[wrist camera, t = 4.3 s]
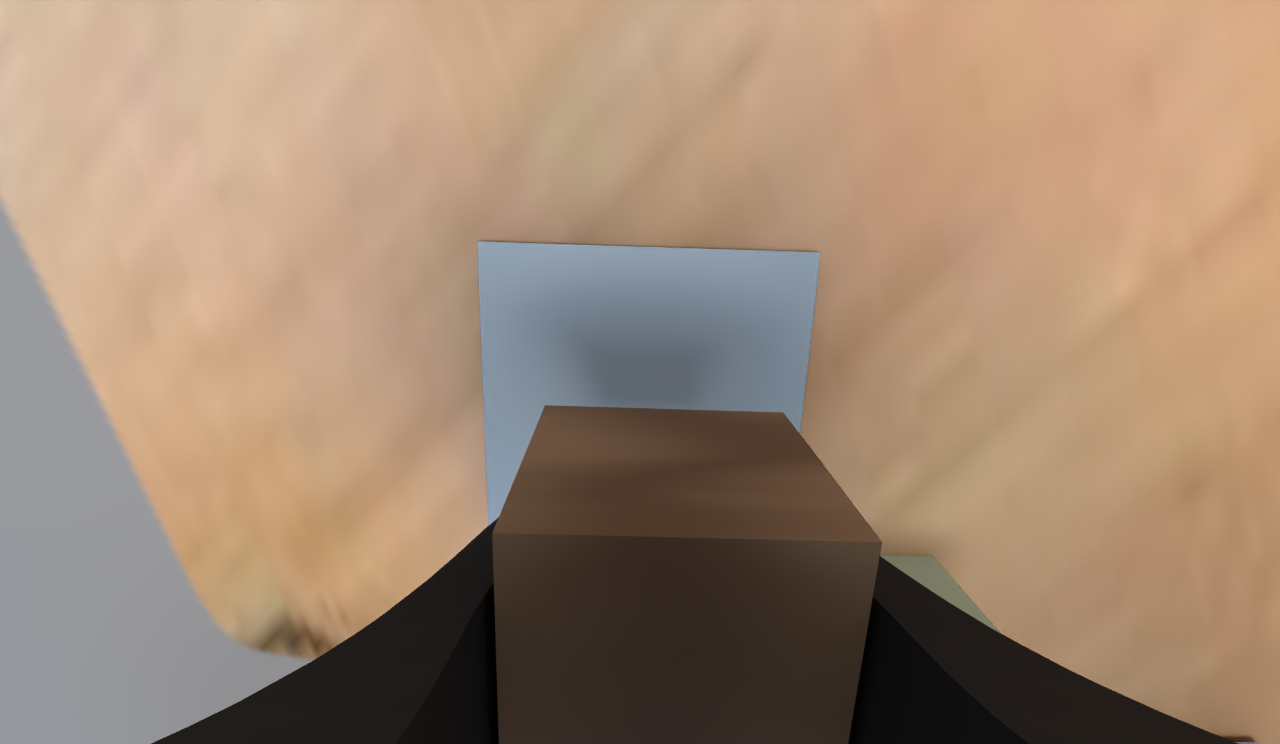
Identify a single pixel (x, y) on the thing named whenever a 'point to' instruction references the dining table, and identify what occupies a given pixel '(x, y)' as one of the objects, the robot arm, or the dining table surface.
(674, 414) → the block walnut
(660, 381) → the baseplate
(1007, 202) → the dining table surface
